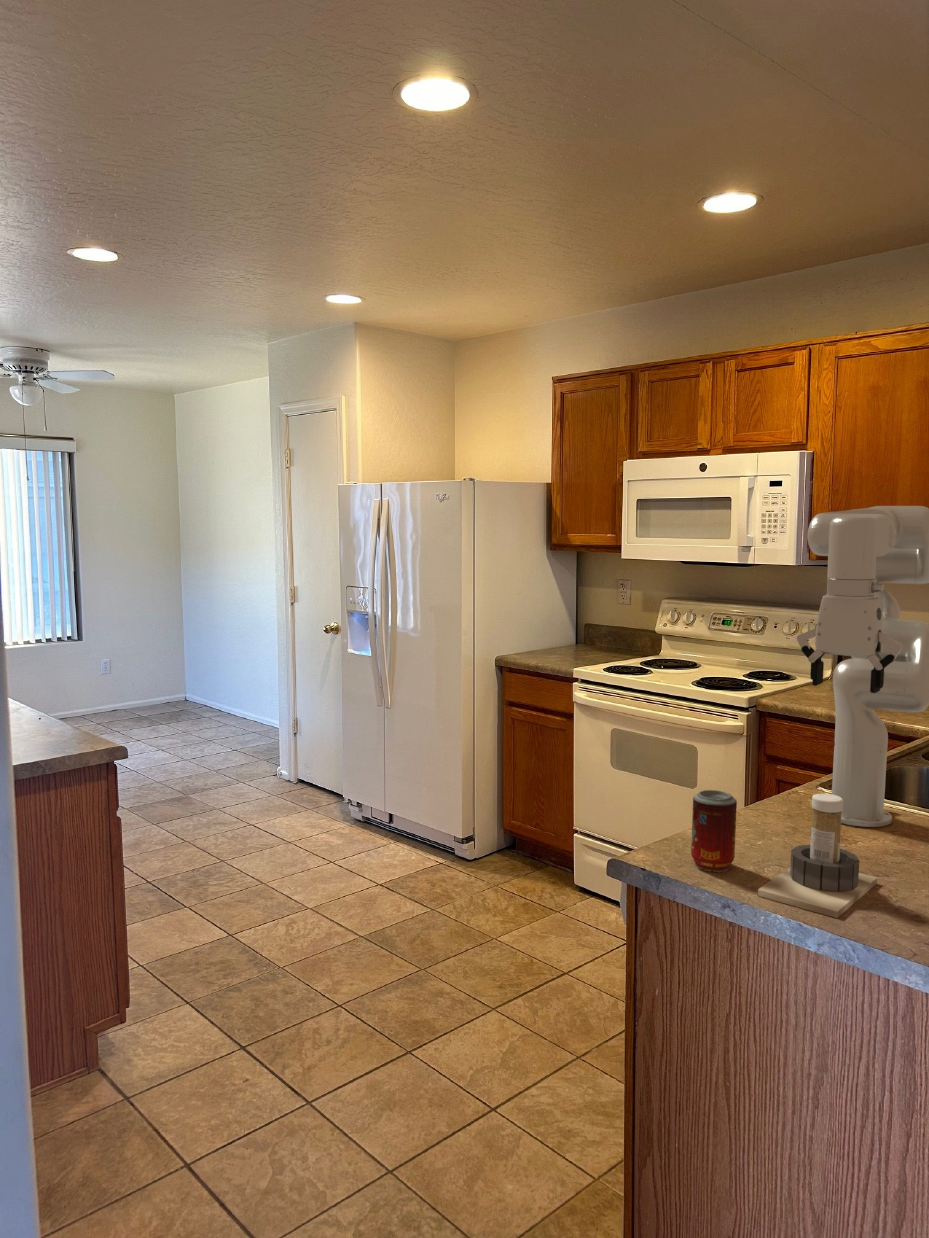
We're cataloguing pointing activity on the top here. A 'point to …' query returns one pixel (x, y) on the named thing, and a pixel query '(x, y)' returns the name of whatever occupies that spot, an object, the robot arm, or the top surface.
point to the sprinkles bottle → (826, 828)
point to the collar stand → (819, 883)
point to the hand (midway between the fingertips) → (845, 688)
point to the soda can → (713, 830)
